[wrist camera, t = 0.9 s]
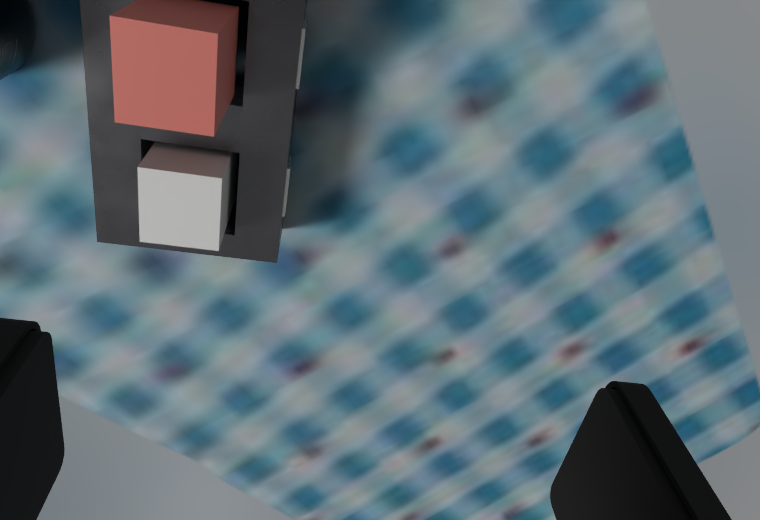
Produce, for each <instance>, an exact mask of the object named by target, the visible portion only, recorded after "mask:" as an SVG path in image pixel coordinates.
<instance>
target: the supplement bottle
mask: <svg viewBox="0 0 760 520" xmlns="http://www.w3.org/2000/svg"><path fill="white" fill-rule="evenodd" d="M33 41H34V19H33V15H32V11H31V7H30V5H29V2H28V0H0V80H1V79H3V78H4V77H6V76H8V75H9V74H11V73H12V72H14V71H15V70H17V69H18V68H19V67H20V66H21V65H22V64H23V63H24V62H25V60H26V59H27V57H28V55H29V53H30V51H31V48H32V45H33Z"/></svg>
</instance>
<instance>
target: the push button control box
mask: <svg viewBox="0 0 760 520" xmlns="http://www.w3.org/2000/svg"><path fill="white" fill-rule="evenodd" d="M133 1H135V0H80V12H81V25H82V39H83V53H84V66H85V80H86V94H87V108H88V121H89V135H90V149H91V163H92V176H93V190H94V204H95V217H96V231H97V242H104V243H112V244H121V245H129V246H138V247H146V248H155V249H163V250H172V251H180V252H189V253H198V254H206V255H215V256H223V257H232V258H240V259H249V260H257V261H266V262H274V263H277V258H278V252H279V246H280V239H281V233H282V225H283V217H285V213H286V206H287V199H288V189H289V180H290V171H291V162H292V157H290V151H291V142H292V133H293V124H294V114H295V105H296V96H297V89H299V85H300V80H301V71H302V62H303V53H304V44H305V35H306V26H307V22H305V12H306V3H307V0H244V1H249V13H248V29H247V45H246V62H245V78H244V83H241V82H235V93H234V96H233V98H232V101H231V103H230V105H229V107H228V109H227V111H226V113H225V115H224V117H223V119H222V121H221V123H220V125H219V127H218V130H217V132H216V134H215V136H214V137H212V136H206V135H199V134H192V133H185V132H178V131H171V130H164V129H157V128H150V127H143V126H136V125H129V124H122V123H116V122H115V117H114V97H113V77H112V57H111V37H110V17H109V16H110V15H111V14H113V13H115V12H116V11H118V10H120V9H122V8H123V7H125V6H127V5H128V4H130V3H132V2H133ZM155 141H158V142H165V143H172V144H179V145H186V146H193V147H200V148H207V149H214V150H222V151H229V152H236V153H240V158H239V174H238V190H237V203H235V202H234V205H233V208H232V211H231V214H230V217H229V220H228V223H227V227H226V230H225V233H224V236H223V239H222V242H221V245H220V248H219V251H214V250H205V249H197V248H189V247H180V246H172V245H163V244H155V243H146V242H140V236H139V204H138V171H137V167H138V165H139V164H140V163H141V161H142V160H143V158H144V157H145V155H146V154H147V153H148V151H149V150H150V148H151V147H152V145H153V144H154V143H155Z"/></svg>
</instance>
